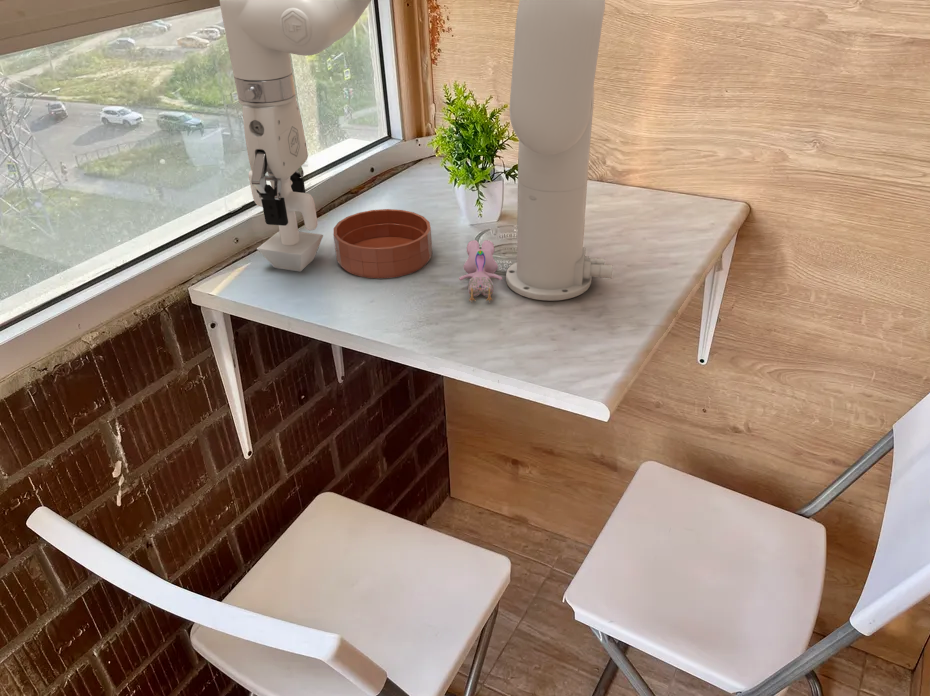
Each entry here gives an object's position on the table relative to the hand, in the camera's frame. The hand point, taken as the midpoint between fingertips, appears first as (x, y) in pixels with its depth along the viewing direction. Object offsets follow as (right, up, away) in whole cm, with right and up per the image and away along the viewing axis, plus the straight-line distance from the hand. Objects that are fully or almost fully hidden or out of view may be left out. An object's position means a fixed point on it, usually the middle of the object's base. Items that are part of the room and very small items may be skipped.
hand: (287, 212), depth 113 cm
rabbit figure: (+29, -10, +1) cm, 30 cm away
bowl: (+13, -6, +7) cm, 16 cm away
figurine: (0, -7, +5) cm, 8 cm away
